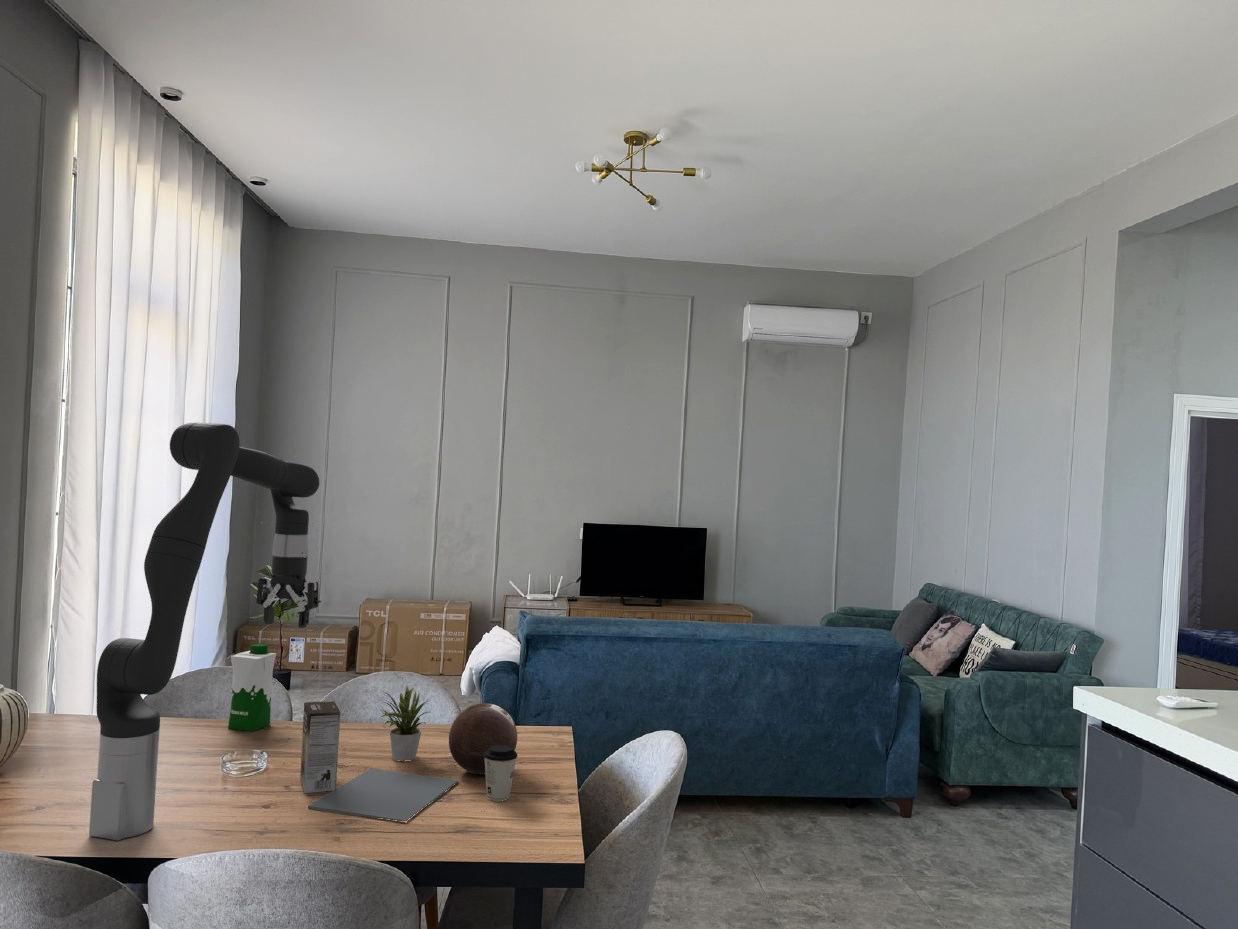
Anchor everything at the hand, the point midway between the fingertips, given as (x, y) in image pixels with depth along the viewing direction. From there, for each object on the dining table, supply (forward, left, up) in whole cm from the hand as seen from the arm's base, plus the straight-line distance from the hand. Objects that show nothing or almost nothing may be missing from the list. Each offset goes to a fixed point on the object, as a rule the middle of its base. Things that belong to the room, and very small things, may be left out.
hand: (285, 625), depth 200 cm
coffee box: (-13, -18, -30) cm, 37 cm away
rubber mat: (-13, -34, -29) cm, 47 cm away
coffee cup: (-6, -55, -30) cm, 63 cm away
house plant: (+10, -25, -30) cm, 40 cm away
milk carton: (+17, +20, -30) cm, 39 cm away
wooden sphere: (+7, -46, -30) cm, 55 cm away
